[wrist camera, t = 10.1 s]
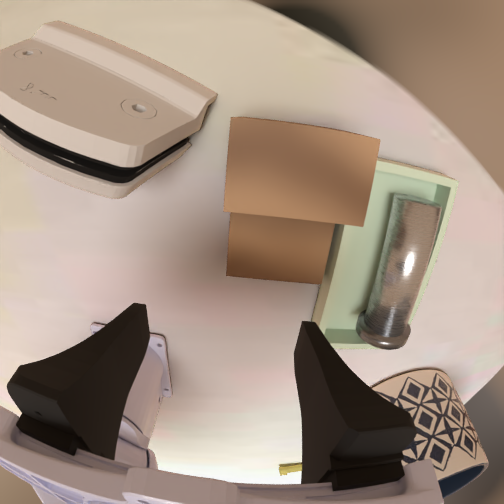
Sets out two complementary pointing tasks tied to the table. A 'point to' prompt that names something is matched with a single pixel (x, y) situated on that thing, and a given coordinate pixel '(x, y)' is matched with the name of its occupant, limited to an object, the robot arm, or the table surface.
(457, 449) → the planter
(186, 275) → the table surface
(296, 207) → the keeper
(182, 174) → the table surface
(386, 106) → the table surface
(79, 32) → the white curved plastic device
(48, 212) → the table surface
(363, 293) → the tray
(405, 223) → the pin
